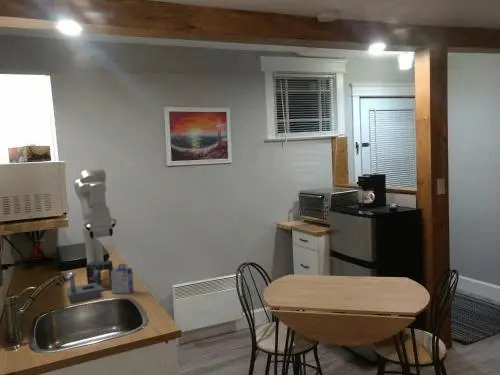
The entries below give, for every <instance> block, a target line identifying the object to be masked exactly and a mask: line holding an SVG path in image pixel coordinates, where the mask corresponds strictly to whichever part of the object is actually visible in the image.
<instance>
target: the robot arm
mask: <svg viewBox="0 0 500 375" xmlns="http://www.w3.org/2000/svg"><path fill="white" fill-rule="evenodd" d="M79 177H80V178H79V179H76V180H75V181H74V182H73V183H74V184H73V186H74V191H75V194H76V196H77V198H78V199H79V202H80V207H81V213H82V218H83V221H85V222H84V223H83V226H82V234H83V238H84V243H85V244H84V245H85V252H86V254H85V255H86V262H87V263H86V265H87V264H88V263H90V262H101V261H104V252H103V251H104V250H103V244H102V242H101V241H100V240H98V238H106V237H113V235H114V233H113V232H114V227H116V225H117V222H118V220H117V219H115V218H112V217H111V212H110V209H109V207H108V206H107V200H106V199H107V198H106V191H107V187H106V181H107V174H106V171H105V170H104V169H103V168H89V169H84V170H83V171H81V173H80V174H79ZM85 276H86V277H87V271H86V272H85Z"/></svg>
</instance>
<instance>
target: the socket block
mask: <svg viewBox="0 0 500 375" xmlns="http://www.w3.org/2000/svg"><path fill="white" fill-rule="evenodd" d="M99 286H100V285H97V283H91V284H88V283H86V284H81V285H76V280H75V276H74V277H72V278H71V279H70V280H69V287H66V295H67V298H68V301H69V303H70V304H72V303H77V302H82V301H86V300H92V299H98V298H101V297H102V293H101V292H102V291H101V290H100V288H99Z"/></svg>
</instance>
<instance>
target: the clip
mask: <svg viewBox="0 0 500 375" xmlns="http://www.w3.org/2000/svg"><path fill="white" fill-rule="evenodd" d="M66 275H67V276H66V277H64V278H65V280H66V282H65V283H64V284H68V283H70V279H71V278H72V277H74V278H75V277H76V276H77V275H76V271H69V272H67V274H66Z"/></svg>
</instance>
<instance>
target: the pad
mask: <svg viewBox="0 0 500 375" xmlns="http://www.w3.org/2000/svg"><path fill="white" fill-rule="evenodd" d="M98 286H99V288H100V290H101V292H104V291H110V290H112V283H111V284H110V287H108V288H102V285H98Z"/></svg>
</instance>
